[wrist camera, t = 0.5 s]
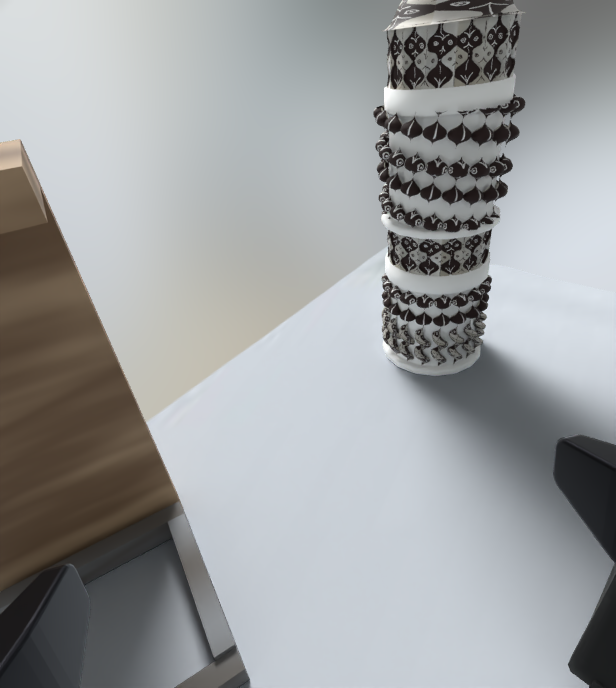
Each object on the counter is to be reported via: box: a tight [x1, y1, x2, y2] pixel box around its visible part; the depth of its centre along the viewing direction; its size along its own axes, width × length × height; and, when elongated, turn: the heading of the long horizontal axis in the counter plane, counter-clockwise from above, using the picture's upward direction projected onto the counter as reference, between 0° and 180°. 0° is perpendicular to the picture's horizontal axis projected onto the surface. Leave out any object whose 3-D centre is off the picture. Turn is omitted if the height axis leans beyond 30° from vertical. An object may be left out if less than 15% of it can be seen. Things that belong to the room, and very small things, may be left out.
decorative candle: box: [373, 0, 525, 376], centre depth 32 cm, size 9×9×25 cm
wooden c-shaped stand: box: [0, 139, 250, 688], centre depth 16 cm, size 12×10×22 cm
